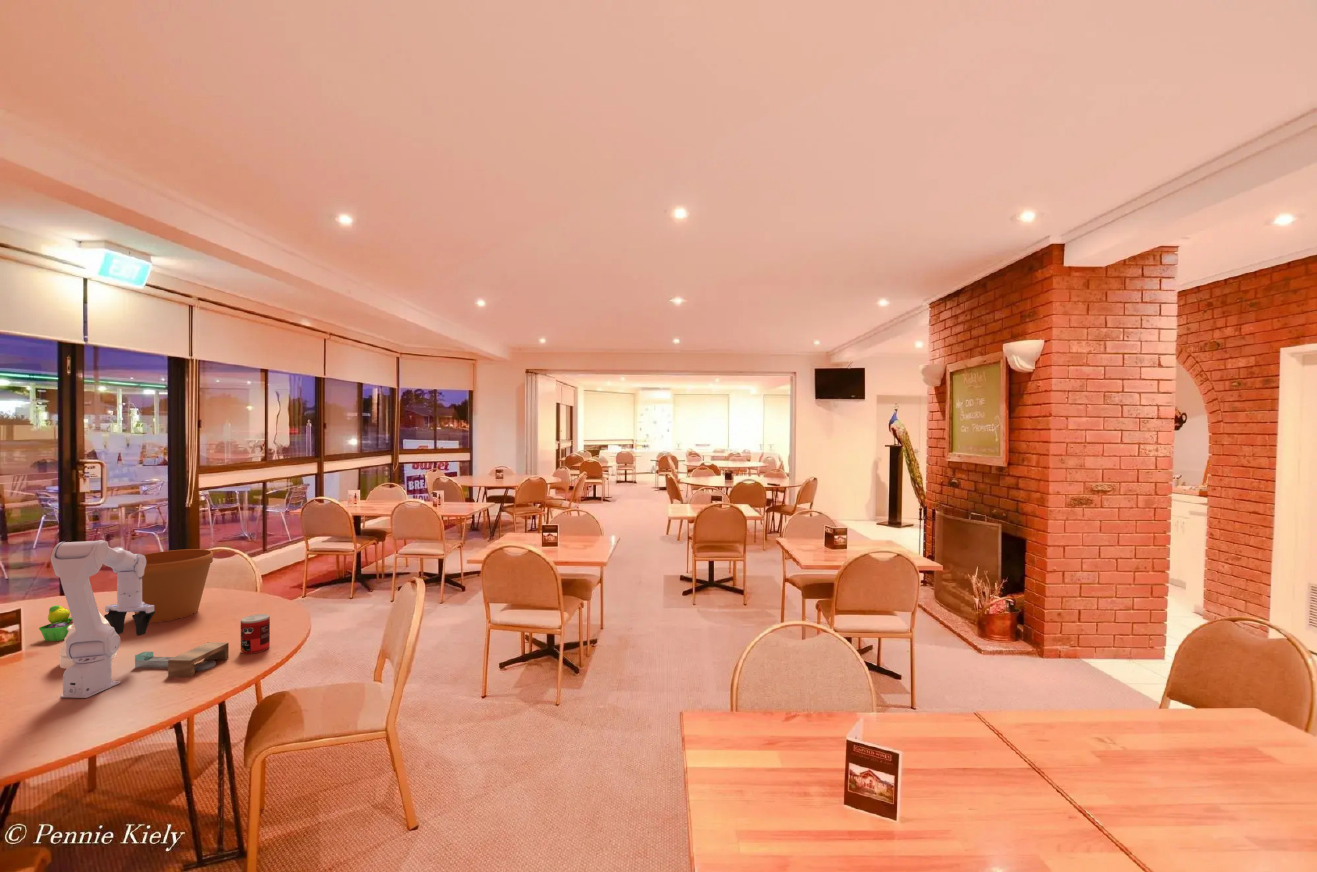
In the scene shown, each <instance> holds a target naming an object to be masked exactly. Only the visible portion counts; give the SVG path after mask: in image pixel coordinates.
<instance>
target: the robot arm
mask: <svg viewBox="0 0 1317 872" xmlns="http://www.w3.org/2000/svg"><path fill="white" fill-rule="evenodd" d="M50 562H51V565H52V569H53V571H54V575H55V576H56V577H58V578H60V584H61V587H62V591H63V594H64V597H65V599H66V603H67V606H68V610H69V611H70V617H72V619H73V623H74V626H75V629H76V630H75V631H73V632H72V633H71V634H70V635H69V636H68V638H67V640H66V655H67V657H68V658H69V659H72V663H75V664H74V665H73V666H71V667H69V668H68V669H66V668H65V670H64V672H63V675H62V694H61V695H60V698H74V699H80V698H81V699H86V698H90V697H92V696H94V695H96V694H99V693H101V692H103V691H106V690H108V689H110V688H112V687H115V686H116V685H118V684H121V681H119V680H112V677H113V676H112V674H113V673H112V672H113V671H112V659H111V655H113V654H115V652H116V651H117V652H118V650H119V648H120V646H121V637H120V635H121V634H124V629H125V619H126V616H127V613H134V612H139V613H138V614H135V613H134V614H132V615H131V617H132V619H133V621H134V624H135V632H136V633H135V634H136V636H138V637H140V636H144V635H146V632H147V629H148V626H149V624H150V623H149V621H150V619H151V618H152V616H153V615H154V613H155V611H154V605H148V604H144V602H142V576H143V575H144V569H145V566H146V558H145V556H144V555H143V554H142V553H133V552H132V551H130V550H126V549H125V548H124V547H123V546H114V547H113V548H112V547H110V546H109V541H106V540H103V539H99V540H89V541H86V540H85V541H71V542H70V541H67V542H66V541H61V542H58V543H57V544H56V545H55V546H54V547H53V549H52V552H51V555H50ZM103 565H104V566H106V567H109V568H111V569H112V572H113V573H114V574H116V575H117V576H116V577H117V578H116V581H117V582H116V586H117V587H116V589H117V592H116V593H117V594H116V596H117V598H116V599H117V601H116V602H117V603H115V604H113V603H112V604H108V605H105V607H104V608H105V609H104V610H105V613H106V614H103V617H104V618H105V619H106V620H107V621H108V622H109V625H106V624H103V623H102V621H101V618H100V615H99V613H100V611H99V609H98V604H97V601H96V598H95V594H94V591H93V588H92V585H91V581H90V577H92V576H95V575H96V574H98V573H99V571H100V570H101V568H102V566H103Z"/></svg>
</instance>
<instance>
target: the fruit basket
mask: <svg viewBox="0 0 1317 872" xmlns="http://www.w3.org/2000/svg"><path fill="white" fill-rule="evenodd" d="M47 620H48V622H49V623H48V624H45V625H43V626H39V627H38V630H39V631H40V632H41V635H42V636H43V639H44V641H45V642H46V641H48V642H57V641H58V642H60V641H63V640H64V638H65V637H66V636H67V634H68V632H69V631H68V630H67V628H68V627H69V626H70V625H72V624H73V619H72V616H71V613H70V610H69V609H67V608H65V607H63V606H61V605H57V604H56V605H52V606H51V607H50V608H49V609H48V616H47Z"/></svg>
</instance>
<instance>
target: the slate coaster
mask: <svg viewBox="0 0 1317 872" xmlns="http://www.w3.org/2000/svg"><path fill="white" fill-rule="evenodd" d="M215 666H216V661H215V660H204V661H200V662H196V663H194V672H200V671H206V670H210V669H212V668H214V667H215Z"/></svg>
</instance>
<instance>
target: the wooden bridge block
mask: <svg viewBox="0 0 1317 872" xmlns="http://www.w3.org/2000/svg"><path fill="white" fill-rule="evenodd" d="M229 646H230V645H229V642H217V641H216V642H214V641H212V642H210V641H209V642H206V643H204V644H201V645H199V646H197V647H194V648H192V649H189V650H187V651H185V652H183V653H181V654H178V655H176V656H173V657H174V658H171V659H169V660H168V668H167V677H171V678H172V677H173V678H174V677H175V678H176V677H181V678H191V677H193V676H195V671H194V665H195V664H197V663H199V661H200V662H201V660H222V661H223V660H227V659H229V657H230V656H229V651H230V650H229Z"/></svg>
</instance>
